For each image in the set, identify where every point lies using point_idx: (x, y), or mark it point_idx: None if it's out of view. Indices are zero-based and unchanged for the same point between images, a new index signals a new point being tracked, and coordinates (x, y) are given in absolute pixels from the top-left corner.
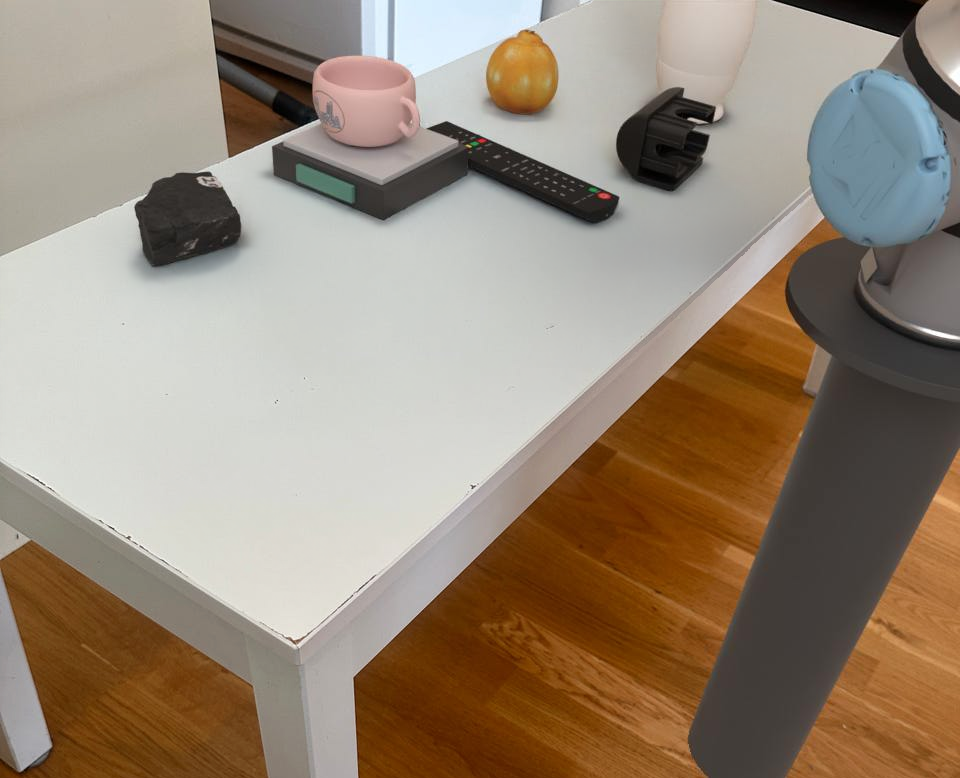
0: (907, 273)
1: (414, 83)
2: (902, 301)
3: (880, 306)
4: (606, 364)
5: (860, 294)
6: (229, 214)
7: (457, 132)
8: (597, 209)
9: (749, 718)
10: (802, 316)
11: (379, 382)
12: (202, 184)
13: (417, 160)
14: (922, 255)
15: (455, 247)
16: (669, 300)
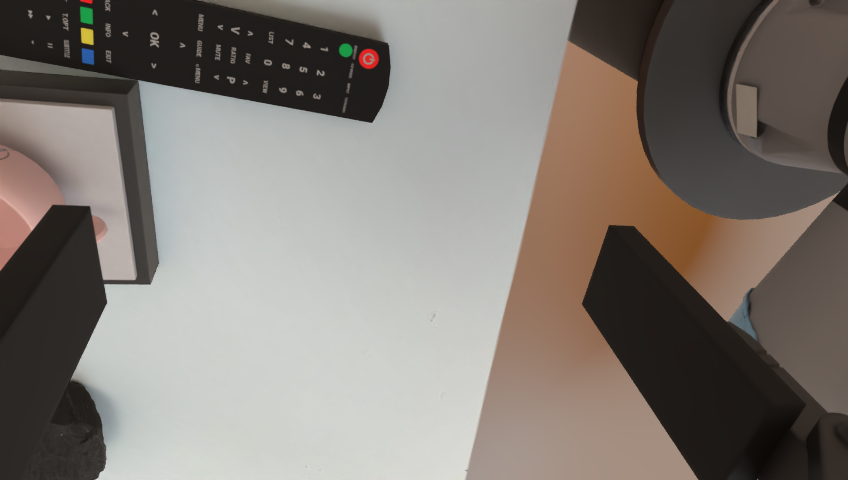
0: (790, 160)
1: (29, 204)
2: (773, 161)
3: (747, 149)
4: (498, 331)
5: (727, 118)
6: (102, 445)
7: None
8: (379, 106)
9: None
10: (660, 176)
11: (354, 441)
12: None
13: (122, 208)
14: (815, 165)
15: (269, 259)
16: (520, 209)
